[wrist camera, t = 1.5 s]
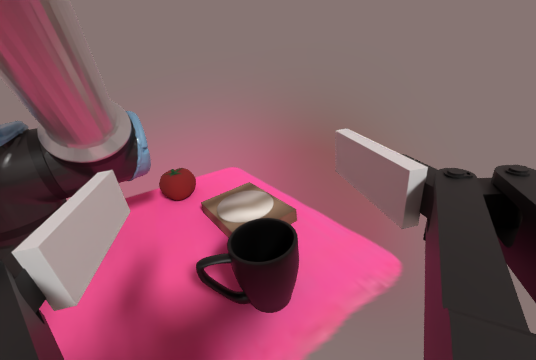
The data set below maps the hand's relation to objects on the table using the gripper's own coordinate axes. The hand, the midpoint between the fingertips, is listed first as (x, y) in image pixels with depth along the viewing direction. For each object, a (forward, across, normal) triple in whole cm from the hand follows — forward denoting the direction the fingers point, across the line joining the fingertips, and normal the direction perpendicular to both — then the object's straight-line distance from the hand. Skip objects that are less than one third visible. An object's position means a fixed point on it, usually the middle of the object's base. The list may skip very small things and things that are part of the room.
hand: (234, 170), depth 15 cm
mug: (+9, 0, -23) cm, 24 cm away
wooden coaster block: (+29, +1, -22) cm, 36 cm away
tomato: (+43, -14, -22) cm, 50 cm away
